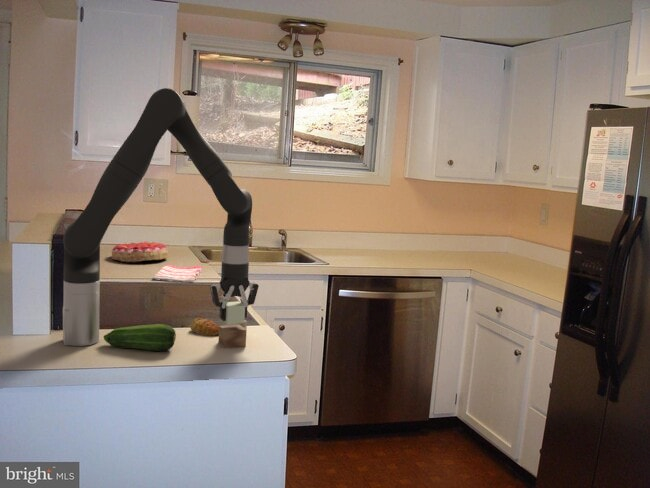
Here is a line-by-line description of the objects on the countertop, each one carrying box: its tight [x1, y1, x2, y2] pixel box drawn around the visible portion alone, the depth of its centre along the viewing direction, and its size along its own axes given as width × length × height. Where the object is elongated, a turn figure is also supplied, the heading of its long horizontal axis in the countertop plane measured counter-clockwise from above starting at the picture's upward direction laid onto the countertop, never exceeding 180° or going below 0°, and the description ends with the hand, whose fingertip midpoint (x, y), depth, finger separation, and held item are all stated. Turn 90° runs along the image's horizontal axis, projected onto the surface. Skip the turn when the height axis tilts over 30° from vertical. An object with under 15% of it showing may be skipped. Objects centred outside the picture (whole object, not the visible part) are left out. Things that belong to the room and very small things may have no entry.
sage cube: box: [223, 301, 246, 325], centre depth 186 cm, size 5×5×5 cm
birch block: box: [225, 320, 248, 332], centre depth 197 cm, size 4×4×4 cm
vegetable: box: [103, 323, 177, 352], centre depth 179 cm, size 7×7×20 cm
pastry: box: [189, 317, 220, 336], centre depth 198 cm, size 9×7×4 cm
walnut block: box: [218, 324, 247, 350], centre depth 187 cm, size 6×6×5 cm
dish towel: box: [152, 264, 203, 283], centre depth 275 cm, size 17×23×4 cm
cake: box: [111, 241, 169, 264], centre depth 305 cm, size 25×25×8 cm
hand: (233, 319), depth 186 cm, fingers closed on sage cube, 5 cm apart
